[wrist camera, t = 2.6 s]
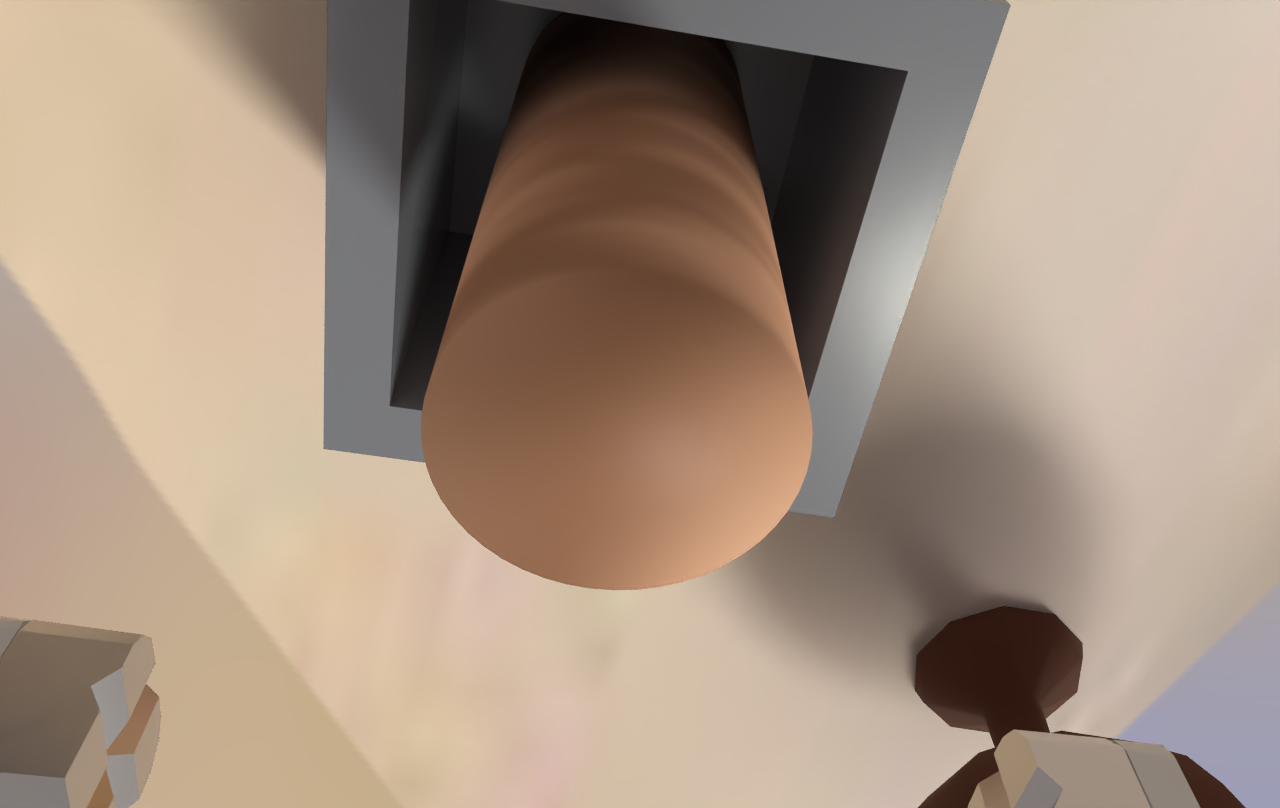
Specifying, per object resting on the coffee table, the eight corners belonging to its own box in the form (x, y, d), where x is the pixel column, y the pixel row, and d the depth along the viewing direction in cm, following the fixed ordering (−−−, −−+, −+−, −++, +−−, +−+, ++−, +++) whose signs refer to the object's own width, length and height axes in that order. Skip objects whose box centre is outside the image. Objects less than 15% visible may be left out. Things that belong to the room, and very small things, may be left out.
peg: (763, 11, 24) (859, 307, 13) (716, 223, 27) (762, 610, 16) (531, -29, 23) (433, 242, 13) (508, 190, 26) (411, 565, 15)
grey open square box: (901, -100, 23) (1010, 4, 16) (788, 308, 29) (833, 518, 22) (428, -189, 23) (328, -117, 16) (404, 249, 28) (323, 448, 21)
